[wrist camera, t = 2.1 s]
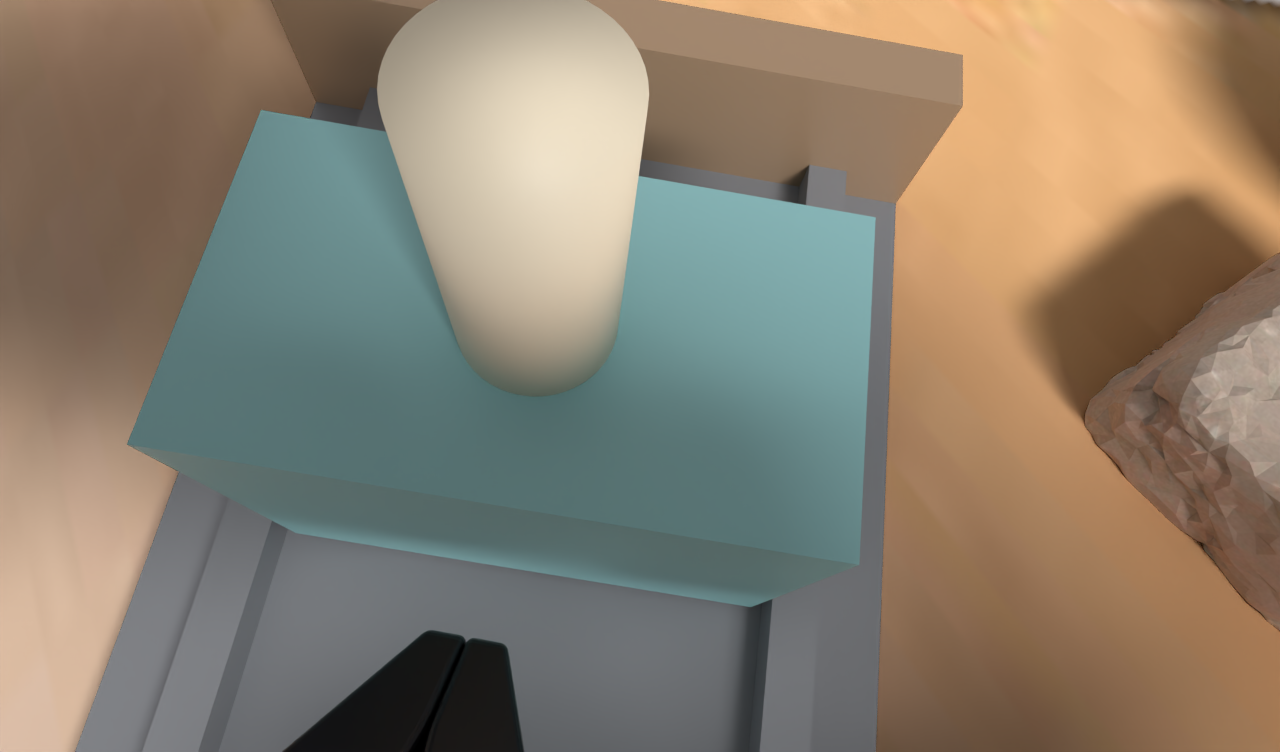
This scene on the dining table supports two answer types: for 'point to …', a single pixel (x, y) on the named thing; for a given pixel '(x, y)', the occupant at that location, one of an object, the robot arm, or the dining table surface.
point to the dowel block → (524, 330)
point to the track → (536, 602)
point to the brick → (1210, 432)
